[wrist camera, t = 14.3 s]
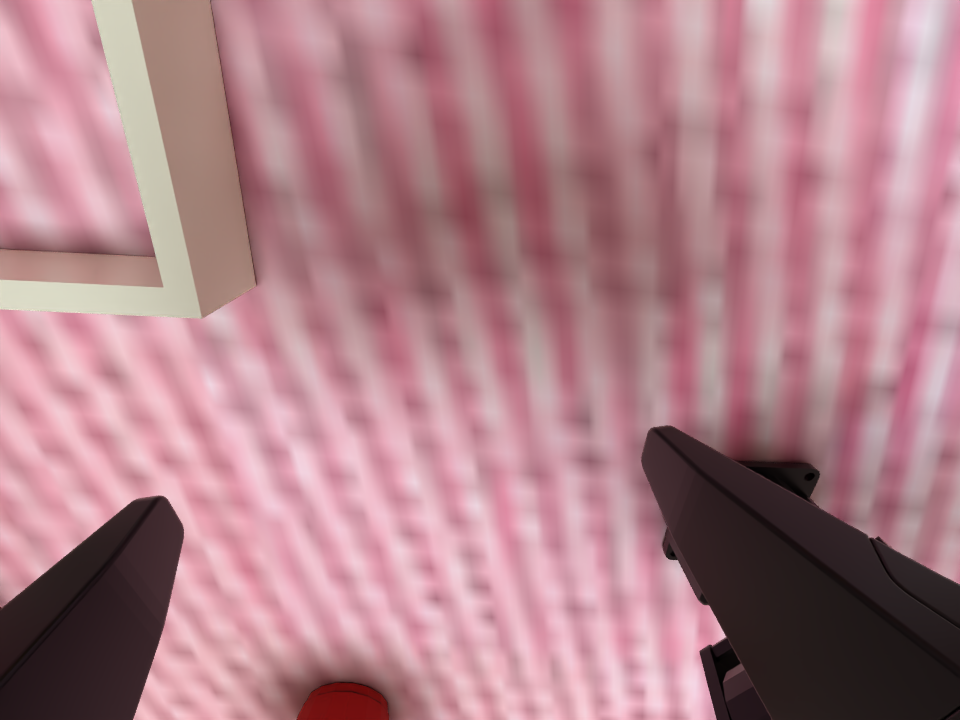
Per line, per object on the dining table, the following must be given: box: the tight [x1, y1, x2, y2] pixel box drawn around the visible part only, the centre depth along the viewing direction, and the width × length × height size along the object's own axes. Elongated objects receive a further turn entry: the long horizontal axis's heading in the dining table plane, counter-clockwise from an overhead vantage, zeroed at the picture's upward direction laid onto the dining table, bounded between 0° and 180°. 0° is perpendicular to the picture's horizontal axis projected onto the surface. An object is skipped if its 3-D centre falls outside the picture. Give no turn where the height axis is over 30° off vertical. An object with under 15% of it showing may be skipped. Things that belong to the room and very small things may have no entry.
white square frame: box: [0, 0, 256, 319], centre depth 14 cm, size 12×12×4 cm
